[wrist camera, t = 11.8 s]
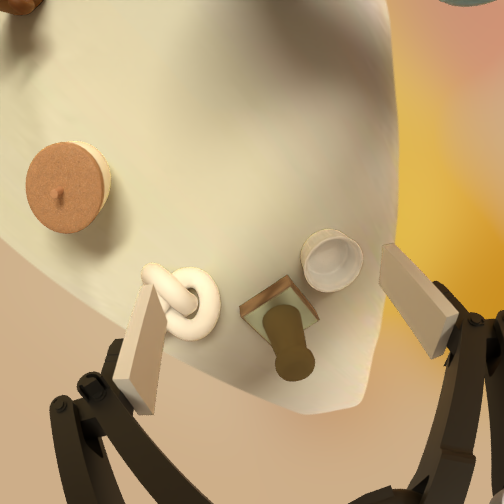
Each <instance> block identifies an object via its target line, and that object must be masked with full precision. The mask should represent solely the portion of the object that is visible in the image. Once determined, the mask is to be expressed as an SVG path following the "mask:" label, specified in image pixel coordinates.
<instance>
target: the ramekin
mask: <svg viewBox="0 0 504 504" xmlns="http://www.w3.org/2000/svg"><path fill="white" fill-rule="evenodd" d="M300 258H301V263H302V267H303V270H304V275H305V278H306V280H307V282H308V284H309V285H310V286H311V287H312V288H314V289H316V290H318V291H321V292H336V291H339V290H341V289H343V288H345V287H347V286H348V285H350V284H351V283H352V282H353V281H354V280H355V279H356V277H357V276H358V274H359V272H360V270H361V268H362V264H363V253H362V250H361V248H360V246H359V245H358V243H357V242H356V241H354V240H353V239H351V238H349V237H347V236H346V235H345V234H344V233H342V232H340V231H338V230H335V229H323V230H320V231H317V232H315V233H314V234H312V235H311V236H310V237H309V238H308V239H307V240H306V242H305V243H304V245H303V247H302V250H301V256H300Z"/></svg>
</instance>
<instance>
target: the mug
mask: <svg viewBox="0 0 504 504" xmlns="http://www.w3.org/2000/svg"><path fill="white" fill-rule="evenodd" d="M42 1H43V0H0V11H3V12H7V13H10V14H13V15H26V14H29V13H31V12H32V11H33V10H34V9H35V8H36V7H37V6H38V5H39V4H40V3H41V2H42Z"/></svg>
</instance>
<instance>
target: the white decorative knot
mask: <svg viewBox="0 0 504 504" xmlns="http://www.w3.org/2000/svg"><path fill="white" fill-rule="evenodd" d="M141 279H142V281H143V284H144V285H150V284H154V287H155V290H156V292H157V295H158V298H159V300H160V303H161V306H162V308H163V311H164V313H165V316H166V319H167V321H168V322H167V327H166V332H168V331H169V332H170V333H171V334H173V335H174V336H176V337H178V338H179V339H181V340H185V341H196V340H199V339H202V338H204V337H205V336H206V335H208V334H209V333H210V332H211V331H212V329H213V328H214V327H215V325H216V323H217V321H218V318H219V315H220V308H221V301H220V294H219V290H218V288H217V286H216V284H215V282H214V280H213V279H212V278H211V276H210V275H209V274H207V273H206V272H205V271H203V270H201V269H199V268H195V267H185V268H181V269H178V270H176V271H174V272H173V273H172V274H171V273H170V272H168V271H167V270H166V269H165V268H164V267H162V266H161V265H159V264H157V263H149V264H146V265H145V266H144V267H143V269H142V271H141ZM188 288H194V289H195V290H196V292H197V294H198V297H199V309H198V312H197V314H196V316H195V317H194V318H193V319H187V318H186V317H187V316H188V315H189V314H191V313H193V312H194V311H195V310H196V309H197V306H198V300H197V297H196V296H195V295H194V294H192V293H190V292H189V291H188V290H187V289H188Z"/></svg>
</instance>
